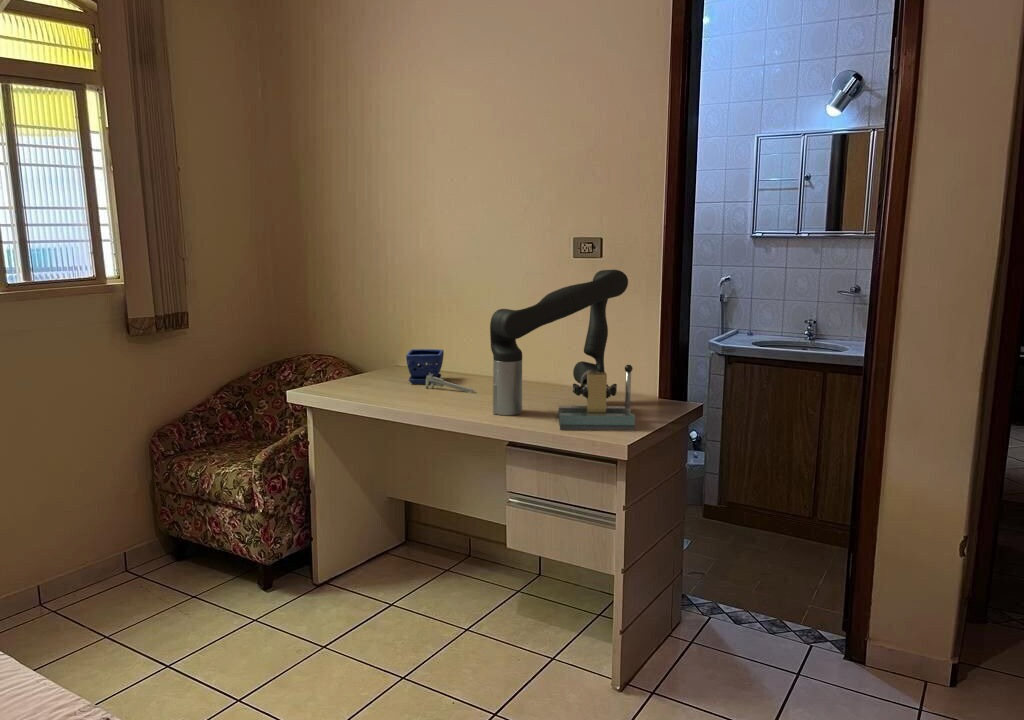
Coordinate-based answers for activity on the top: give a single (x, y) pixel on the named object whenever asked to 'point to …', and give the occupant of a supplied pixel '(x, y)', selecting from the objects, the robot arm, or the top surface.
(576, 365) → the robot arm
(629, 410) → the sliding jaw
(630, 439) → the top surface
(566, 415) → the vise
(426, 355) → the flower pot
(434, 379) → the caliper
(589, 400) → the block
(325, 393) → the top surface
